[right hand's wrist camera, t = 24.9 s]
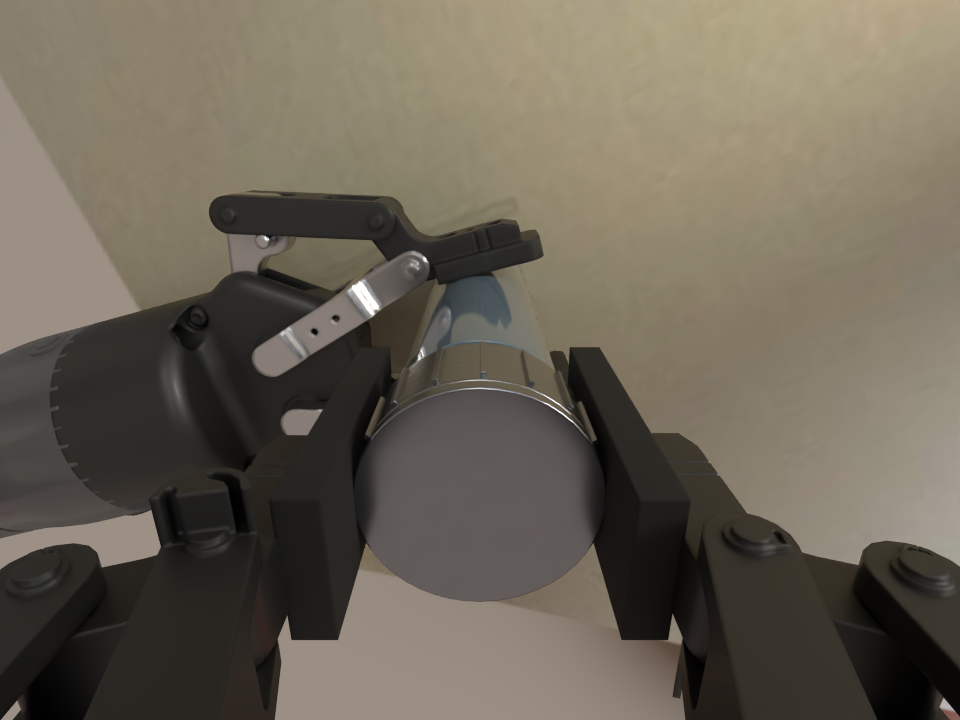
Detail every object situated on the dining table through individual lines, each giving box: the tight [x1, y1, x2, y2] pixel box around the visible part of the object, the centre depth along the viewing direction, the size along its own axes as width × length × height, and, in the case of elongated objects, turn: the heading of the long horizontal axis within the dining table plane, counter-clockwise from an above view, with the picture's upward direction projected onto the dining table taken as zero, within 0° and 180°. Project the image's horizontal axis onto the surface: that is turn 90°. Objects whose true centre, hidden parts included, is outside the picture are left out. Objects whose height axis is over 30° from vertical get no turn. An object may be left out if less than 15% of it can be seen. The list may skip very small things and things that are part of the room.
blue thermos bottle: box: [406, 265, 556, 372], centre depth 18 cm, size 4×4×16 cm
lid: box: [353, 341, 606, 602], centre depth 11 cm, size 5×5×2 cm
